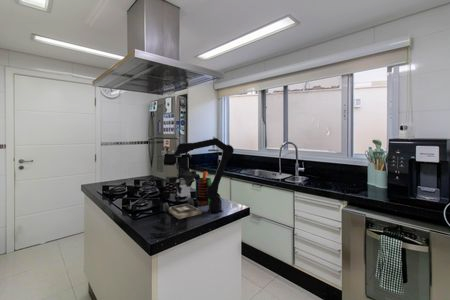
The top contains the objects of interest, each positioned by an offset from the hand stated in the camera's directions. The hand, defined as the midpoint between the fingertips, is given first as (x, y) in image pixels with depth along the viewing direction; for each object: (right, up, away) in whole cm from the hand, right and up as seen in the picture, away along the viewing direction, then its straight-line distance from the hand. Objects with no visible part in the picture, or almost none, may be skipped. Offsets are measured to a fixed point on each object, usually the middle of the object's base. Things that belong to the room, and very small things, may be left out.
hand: (183, 193), depth 128 cm
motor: (+10, -10, +18) cm, 23 cm away
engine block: (0, -1, 0) cm, 1 cm away
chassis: (0, -11, +1) cm, 11 cm away
